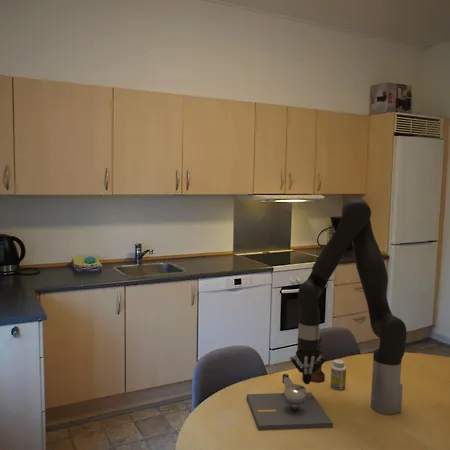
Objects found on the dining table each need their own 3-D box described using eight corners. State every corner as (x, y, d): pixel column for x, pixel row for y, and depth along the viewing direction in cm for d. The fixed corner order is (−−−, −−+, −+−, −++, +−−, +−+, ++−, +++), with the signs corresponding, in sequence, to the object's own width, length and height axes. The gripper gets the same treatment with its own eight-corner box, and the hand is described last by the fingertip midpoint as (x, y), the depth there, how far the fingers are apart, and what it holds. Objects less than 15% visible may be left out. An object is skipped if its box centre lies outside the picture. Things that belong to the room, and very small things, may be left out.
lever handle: (307, 414, 148) (308, 392, 148) (287, 414, 148) (287, 393, 147) (293, 391, 165) (294, 372, 165) (274, 391, 164) (275, 372, 164)
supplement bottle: (342, 384, 177) (343, 358, 177) (347, 390, 172) (348, 364, 171) (328, 384, 177) (329, 358, 176) (333, 390, 171) (334, 364, 171)
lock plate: (310, 396, 166) (311, 391, 166) (332, 427, 144) (332, 422, 144) (246, 398, 163) (246, 393, 163) (258, 430, 141) (258, 425, 141)
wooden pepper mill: (312, 383, 177) (314, 338, 176) (305, 376, 184) (306, 333, 182) (327, 381, 179) (329, 337, 178) (319, 375, 185) (321, 332, 184)
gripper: (322, 332, 165) (320, 378, 166) (287, 332, 163) (285, 379, 164) (330, 339, 157) (327, 387, 158) (293, 339, 156) (291, 388, 157)
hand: (306, 383), depth 161 cm, fingers closed
